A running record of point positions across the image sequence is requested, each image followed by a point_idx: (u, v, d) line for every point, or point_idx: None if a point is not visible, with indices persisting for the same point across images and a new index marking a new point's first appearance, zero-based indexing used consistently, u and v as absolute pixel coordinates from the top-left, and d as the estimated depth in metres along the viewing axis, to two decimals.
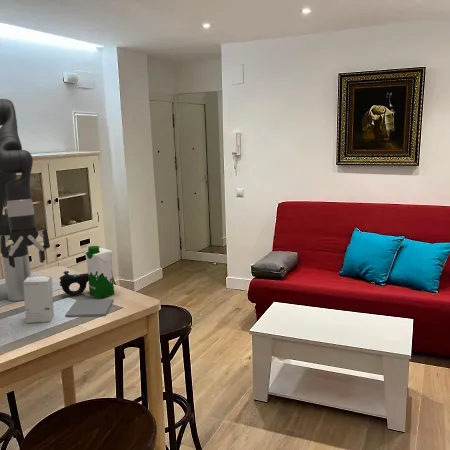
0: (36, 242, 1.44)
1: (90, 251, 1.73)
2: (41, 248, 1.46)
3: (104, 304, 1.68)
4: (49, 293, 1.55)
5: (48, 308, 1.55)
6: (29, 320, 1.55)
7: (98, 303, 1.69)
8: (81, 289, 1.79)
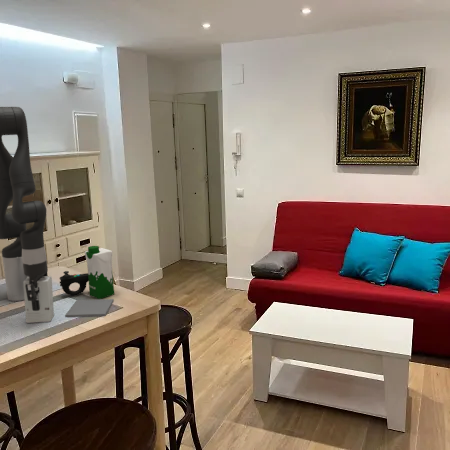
0: None
1: (90, 251, 1.73)
2: None
3: (104, 304, 1.68)
4: (49, 293, 1.55)
5: (48, 308, 1.55)
6: (29, 320, 1.55)
7: (98, 303, 1.69)
8: (81, 289, 1.79)
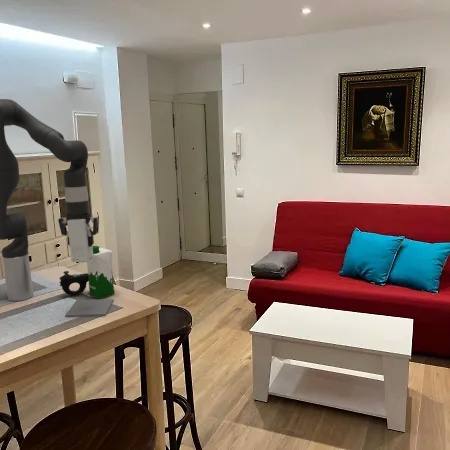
0: None
1: None
2: None
3: (104, 304, 1.68)
4: None
5: None
6: (88, 258, 1.58)
7: (98, 303, 1.69)
8: (81, 289, 1.79)
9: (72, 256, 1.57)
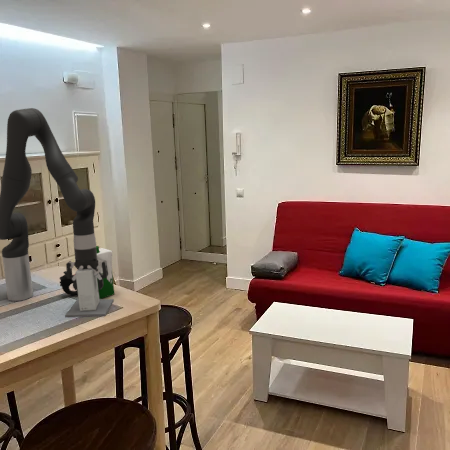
0: None
1: None
2: None
3: (104, 304, 1.68)
4: None
5: None
6: (96, 306, 1.63)
7: None
8: None
9: (80, 305, 1.61)
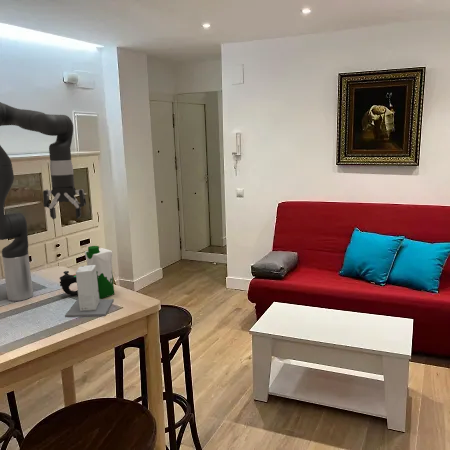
0: None
1: (90, 251, 1.73)
2: None
3: (104, 304, 1.68)
4: None
5: None
6: (96, 306, 1.63)
7: None
8: None
9: (80, 305, 1.61)
